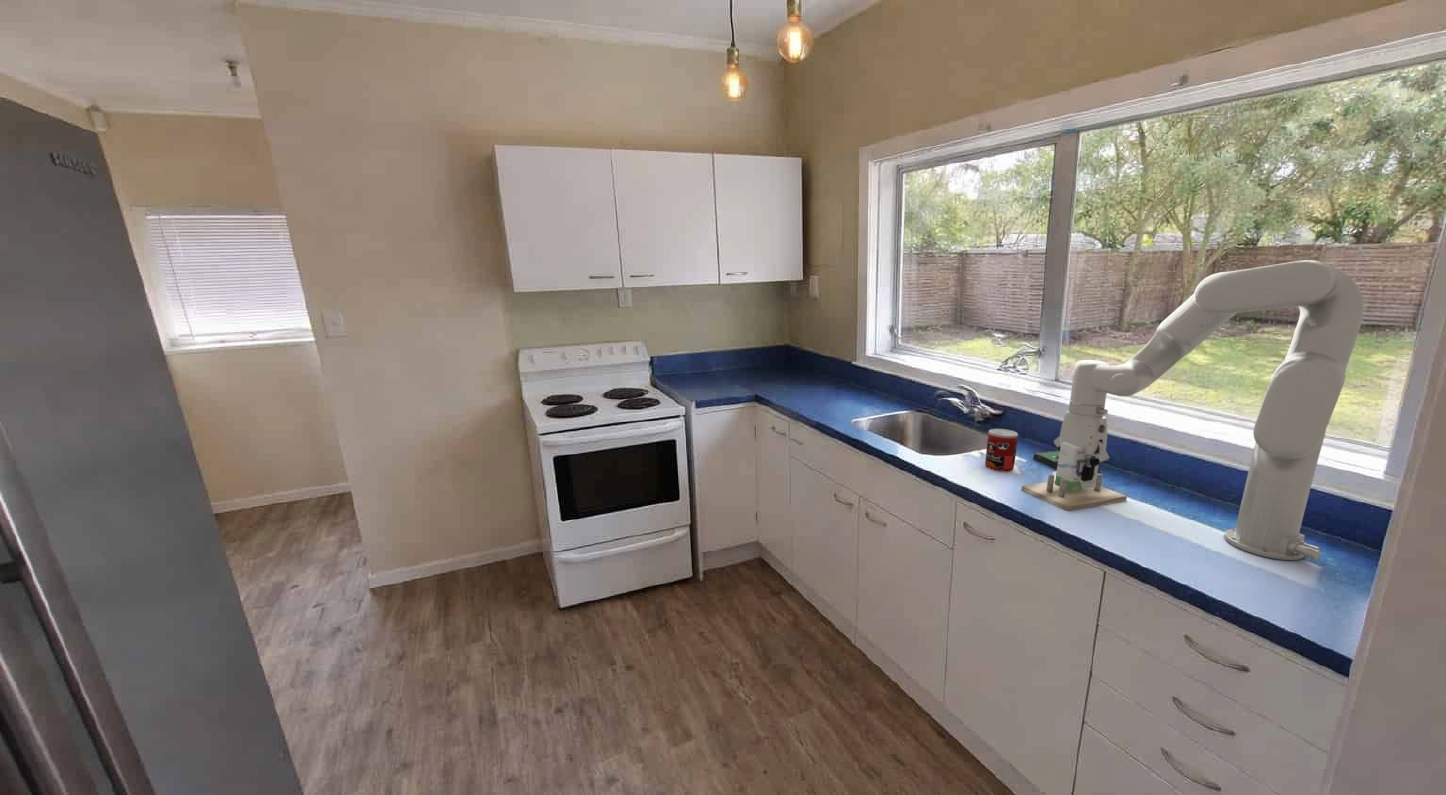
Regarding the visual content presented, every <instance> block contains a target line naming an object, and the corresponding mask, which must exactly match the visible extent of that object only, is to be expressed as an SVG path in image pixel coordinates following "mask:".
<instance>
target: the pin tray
mask: <svg viewBox="0 0 1446 795" xmlns="http://www.w3.org/2000/svg"><path fill="white" fill-rule="evenodd" d="M1055 478H1056V474H1051V473H1049V474H1048V475H1047V481H1045V482H1040V483H1032V484H1026V485H1022V486H1021V491H1022V490H1023V492H1025V493H1027V494H1030V495H1032V496H1034V497H1035V498H1038V499H1040V500H1042V499H1044V500H1046V501H1045V502H1047V501H1048V502H1047V503H1049V502H1050V503H1049V504H1051V503H1052V504H1051V505H1053V504H1054V505H1053V506H1055V505H1057V506H1056V507H1058V508H1060V507H1061V508H1060V509H1063V510H1064V511H1067V512H1068V511H1074V510H1080V509H1086V508H1087V509H1088V508H1092V507H1096V506H1097V507H1098V506H1102V505H1108V504H1113V503H1119V502H1125V501H1127V498H1128V496H1127V495H1125V494H1122V493H1119V492H1118V491H1114V490H1111V489H1109V488H1106V487H1104V486H1102V484H1103V482H1102V481H1103V474H1102V473H1098V474H1097V478H1096V484H1095V487H1094V488H1087V489H1081V490H1074V491H1068V490H1066V484H1067V480H1065V479H1061V480H1060V487H1059V486H1057V485H1054V484H1055ZM1044 500H1043V501H1044Z"/></svg>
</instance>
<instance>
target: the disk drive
mask: <svg viewBox="0 0 1446 795" xmlns="http://www.w3.org/2000/svg"><path fill="white" fill-rule="evenodd" d="M1059 453H1060V452H1059V450H1055V451H1054V450H1053V451H1045V452H1043V451H1042V452H1035V453H1034V454H1033V456H1032V457H1033V460H1035V461H1037V462H1038V463H1041V464H1043V465H1046V466H1047V467H1050V468H1052V469H1053V470H1056V471H1057V466H1058V459H1059ZM1097 473H1098V474H1100V465H1099V466H1098V472H1097Z"/></svg>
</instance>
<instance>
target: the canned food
mask: <svg viewBox="0 0 1446 795" xmlns="http://www.w3.org/2000/svg"><path fill="white" fill-rule="evenodd" d="M1018 439H1019V433H1018V432H1016V431H1014V430H1010V429H1006V428H991V429H989V430H988V434H987V441H986V442H987V443H986V451H985V461H984V464H985V467H986V468H988V469H989V468H990V469H989V470H992V469H993V471H996V470H997V471H996V472H1010V471H1013V470H1014V468H1015V463H1016V456H1017V449H1018V448H1017V447H1018V441H1019V440H1018Z"/></svg>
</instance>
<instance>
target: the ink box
mask: <svg viewBox="0 0 1446 795" xmlns="http://www.w3.org/2000/svg"><path fill="white" fill-rule="evenodd" d="M1096 451H1097V450H1096ZM1096 453H1097V452H1096ZM1098 457H1099V454H1097V458H1098ZM1091 461H1092V459H1091ZM1083 466H1086V463H1085V455H1084V454H1083V448H1081V447H1078V446H1075V445H1073V444H1071V443H1068V442H1063V443H1062V444H1061V447H1060V453H1059V459H1058V466H1057V470H1056V473H1055V477H1054V481H1055V484H1054V485H1057V486H1059V487H1060V480H1061V479H1065V480H1067V484H1066V490H1068V491H1074V490H1081V489H1087V488H1094V487H1095V484H1096V478H1097V472H1098V466H1100V464H1098V466H1095V470H1094V476H1093V479H1092V480H1090V481H1082V480H1081V478H1082V471H1083Z"/></svg>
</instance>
